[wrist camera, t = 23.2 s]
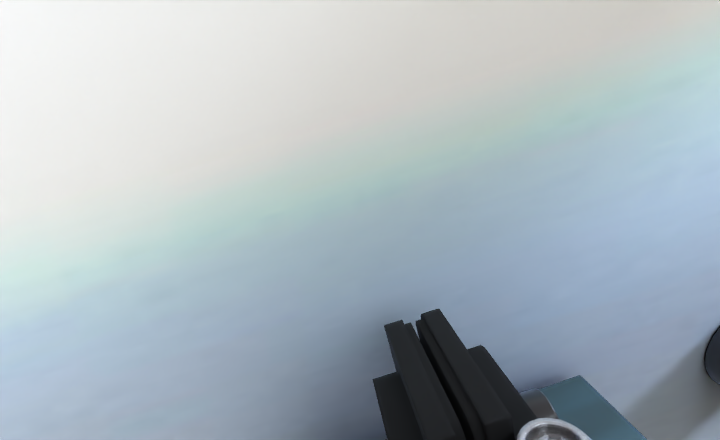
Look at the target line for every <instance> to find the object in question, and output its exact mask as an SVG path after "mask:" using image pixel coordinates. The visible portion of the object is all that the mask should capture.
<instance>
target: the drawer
mask: <svg viewBox="0 0 720 440" xmlns="http://www.w3.org/2000/svg"><path fill="white" fill-rule="evenodd" d="M519 394H520V395H521V397H522V398H523V399H524V401H525V402H526V403H527V405H528V406H529V407H530V409H531V410H532V411H533V413H534V414H535V415H536V417H537V418H538V419H539V418H554V419H559V420H563V421H565V422H568V423H570V424H572V425H574V426H576V427H577V428H578V429H580V430H581V431H583V432H584V433H585V434H586V435H587V436H588V437H590V438H591V439H592V440H647V439H646V438H645V437H644V436H643V435H642V434H641V433H640V432H639V431H638V430H637V429H636V428H635V427H634V426H633V425H632V424H631V423H630V422H628V421H627V420H626V419H625V418H624V417H623V416H622V415H621V414H620V413H619V412H618V411H617V410H616V409H615V408H614V407H613V406H612V405H611V404H610V403H609V402H608V401H607V400H605V399H604V398H603V397H602V396H601V395H600V394H599V393H598V392H597V391H596V390H595V389H594V388H593V387H592V386H591V385H590V384H589V383H588V382H587V381H586V380H585V379H584V378H583V377H581V376H580V375H579V376H576V377H573V378H570V379H567V380H564V381H561V382H559V383H556V384H553V385H550V386H547V387H544V388H541V389H537V388H533V389H530V390H527V391H524V392H521V393H519ZM385 440H388V439H385Z"/></svg>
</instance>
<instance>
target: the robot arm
mask: <svg viewBox="0 0 720 440" xmlns="http://www.w3.org/2000/svg"><path fill="white" fill-rule="evenodd" d="M384 327H385V331H386V335H387V338H388V342H389V346H390V349H391V353H392V357H393V360H394V364H395V368H396V371H397V372H394V373H391V374H388V375H385V376H382V377H379V378H376V379H373V383H374V387H375V391H376V395H377V399H378V403H379V407H380V411H381V415H382V419H383V423H384V427H385V431H386V435H387V439H388V440H592V439H591V438H590V437H588V436H587V435H586V434H585V433H584V432H583V431H581V430H580V429H578V428H577V427H576V426H574V425H572V424H570V423H568V422H565V421H563V420H559V419H554V418H539V419H538V418H537V417H536V415H535V414H534V413H533V411H532V410H531V409H530V407H529V406H528V405H527V403H526V402H525V401H524V399H523V398H522V397H521V395H520V394H519V393H518V391H517V390H516V389H515V387H514V386H513V385H512V383H511V382H510V381H509V379H508V378H507V377H506V375H505V374H504V373H503V371H502V370H501V369H500V367H499V366H498V365H497V363H496V362H495V361H494V359H493V358H492V357H491V355H490V354H489V353H488V351H487V350H486V349H485V348H484V347H483V346H482V345H480V346H476V347H473V348H470V349H466V348H465V346H464V345H463V343H462V342H461V340H460V339H459V337H458V336H457V334H456V333H455V331H454V330H453V328H452V327H451V325H450V324H449V322H448V321H447V319H446V318H445V316H444V315H443V313H442V312H441V311H440V309H436V310H432V311H429V312H426V313H423V314H421V320H417V321H416V327H417V331H418V335H419V338H418V336H417V334H416V332H415V330H414V328H413V326H412V324H411V323H408V324H404V323H403V321H402V320H400V321H397V322H393V323H390V324H387V325H384ZM419 340H420V341H419Z"/></svg>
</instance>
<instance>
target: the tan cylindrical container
mask: <svg viewBox="0 0 720 440" xmlns="http://www.w3.org/2000/svg"><path fill="white" fill-rule="evenodd" d="M705 366H706V370H707V372H708V374H709V376H710V377H711V379H712V380H714V381H715V382H716V383H718V384H719V385H720V328H719V329H718V330H717V332H716V333H715V334H714V336H713V338H712V339H711V341H710V343H709V346H708V349H707V352H706V357H705Z"/></svg>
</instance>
